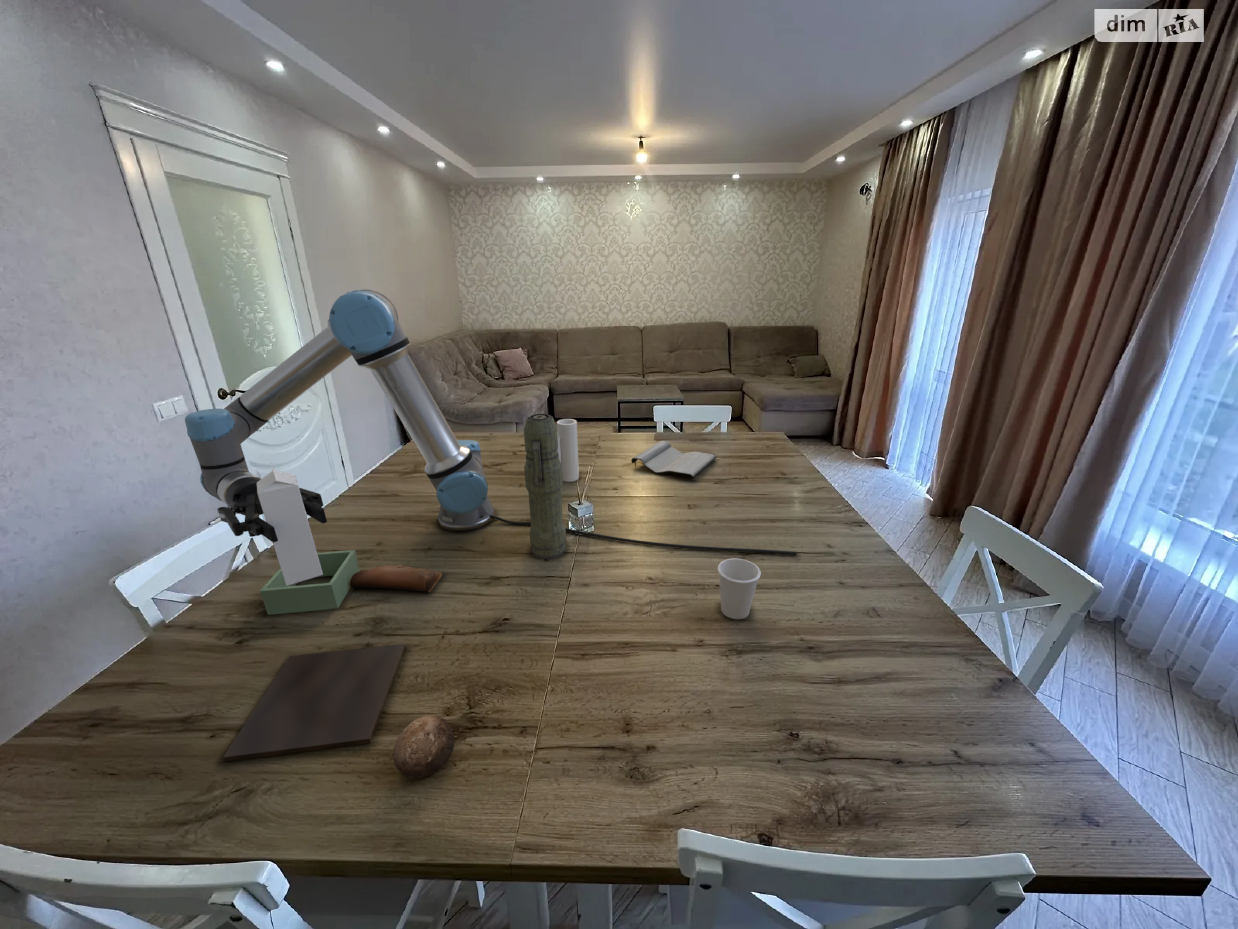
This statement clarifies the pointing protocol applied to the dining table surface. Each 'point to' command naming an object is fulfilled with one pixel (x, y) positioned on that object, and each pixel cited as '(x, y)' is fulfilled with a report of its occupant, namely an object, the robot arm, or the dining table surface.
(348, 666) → the board
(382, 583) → the sunglasses case
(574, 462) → the vase
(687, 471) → the mat
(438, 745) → the brown potato
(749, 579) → the dixie cup
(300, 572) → the milk
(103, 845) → the dining table surface
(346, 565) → the basket
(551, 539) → the thermos
